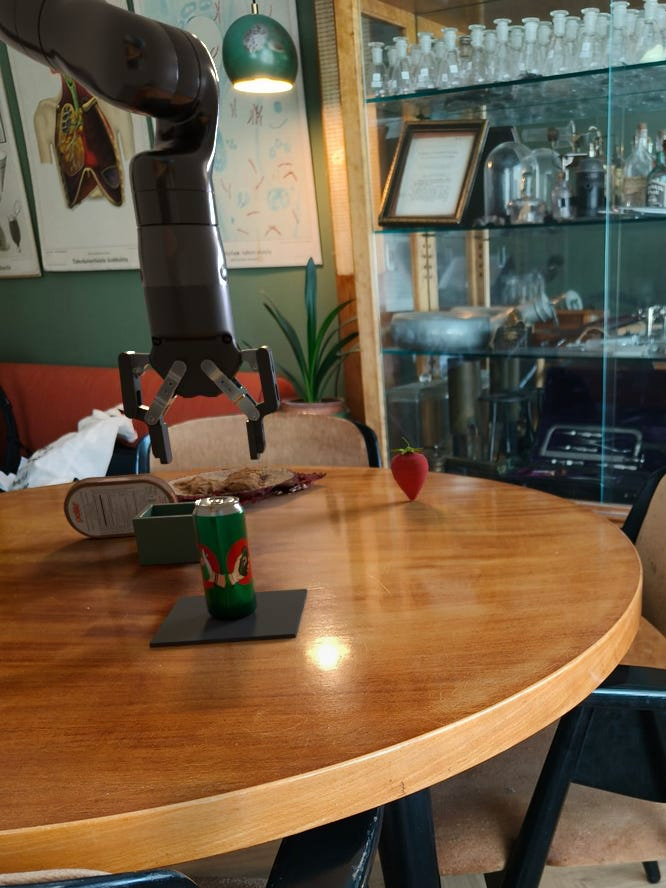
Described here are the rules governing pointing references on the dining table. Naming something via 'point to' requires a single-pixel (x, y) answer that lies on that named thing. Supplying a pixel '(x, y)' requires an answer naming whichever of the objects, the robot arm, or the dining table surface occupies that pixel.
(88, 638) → the dining table surface
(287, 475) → the plate with food
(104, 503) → the tin
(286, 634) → the mat
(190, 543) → the box
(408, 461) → the strawberry
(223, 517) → the soda can
